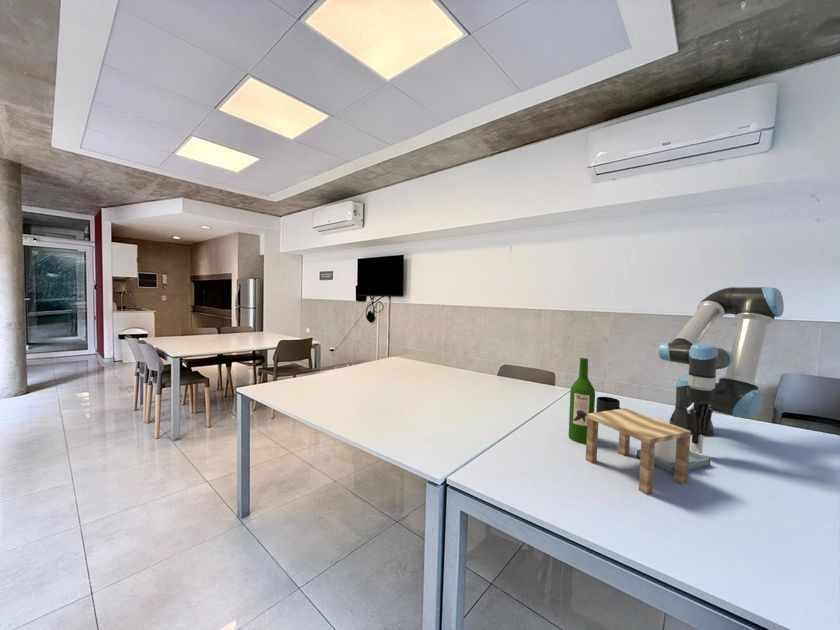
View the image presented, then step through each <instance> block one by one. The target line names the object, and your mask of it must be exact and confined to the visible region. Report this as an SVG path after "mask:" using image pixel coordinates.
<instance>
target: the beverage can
mask: <svg viewBox="0 0 840 630" xmlns="http://www.w3.org/2000/svg"><path fill="white" fill-rule="evenodd" d="M676 441H677V439H673V440H668V441H663V442H659V443H655V454H654V457H655V458H657V459H659V460H662V461H664V462H666V463H668V464H672V463H675V457H676Z"/></svg>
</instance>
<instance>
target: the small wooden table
mask: <svg viewBox="0 0 840 630" xmlns="http://www.w3.org/2000/svg"><path fill="white" fill-rule="evenodd" d="M599 424H600V425H603V426H605V427H608V428H609V429H612V430H614V431H617V432H618V433H619V434H618V452H617V453H618V454H620V455H622V456H624V457H625V456H629V455H630V445H631V443H630V440H631V438H634V439H635V440H638V441H641V443H640V449H641V457H640V458H639V460H640V461H639V476H638V477H639V479H638V480H639V481H638V491H639V492H641V493H643V494H644V495H649V494H650V495H651V494H653V486H654V485H653V484H654V471H655V469H654V454H655V443H659V442H663V441H668V440H673V439H677V441H676V457H675V473H674V475H673V481H674V482H676V483H678V484H680V485H686V484H688V481H689V480H688V478H689V472H688V466H689V451H691V449H690V447H691V436H692V434H691V431H689V430H686V429H683V428H680V427H678V426H675V425H672V424H669V422H666V421H663V420H661V419H658V418H655V417H651V416H650V415H646V414H644V413H640V412H637V411H635V410H632V409H628V408H627V407H624V408H621V409H616V410H609V411H603V412H596V411H595V412H594V413H589V414H588V420H587V442H586V443H585V446H586V447H585V449H586V450H585V460H586V461H588V462H589V463H591V464H592V463H593V464H594V463H597V460H598V459H597V458H598V439H599Z"/></svg>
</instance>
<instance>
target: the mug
mask: <svg viewBox="0 0 840 630" xmlns="http://www.w3.org/2000/svg"><path fill="white" fill-rule="evenodd" d="M620 405H621V403H620V400H619V399H617V398H614V397H612V396H611V397H610V396H598V397H596V405H595V406H596V410H595V413H596V412H603V411H609V410H616V409H622V407H620Z"/></svg>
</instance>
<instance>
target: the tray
mask: <svg viewBox="0 0 840 630" xmlns="http://www.w3.org/2000/svg"><path fill="white" fill-rule="evenodd" d="M640 457H641V448H640V449H636V458H638V459H640ZM654 466H655V467H657V468H658V469H660V470H663V471H665V472H667V473H669V474H671V475H672V476H674V473H675V463H672V464H668V463H666V462H664V461H662V460H659V459H657V458H655V457H654ZM710 466H711V458H709V457H707V456H704V455H702V454H701V453H700V454H699V453H697V452H694V451H692V450H690V451H689V466H688V473H689V472H693V471H695V470H699V469H703V468H708V467H710Z"/></svg>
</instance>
